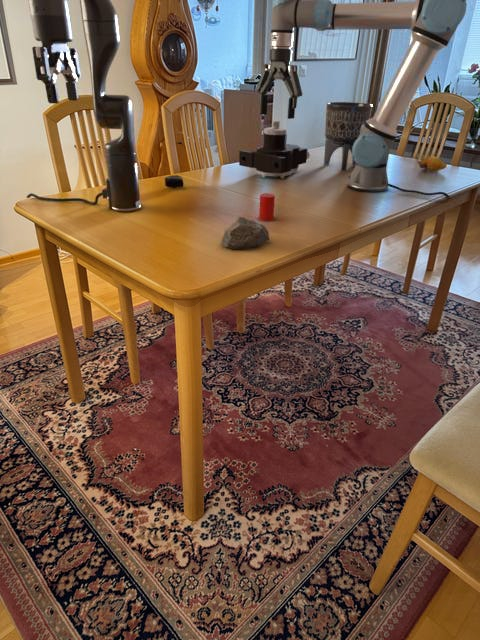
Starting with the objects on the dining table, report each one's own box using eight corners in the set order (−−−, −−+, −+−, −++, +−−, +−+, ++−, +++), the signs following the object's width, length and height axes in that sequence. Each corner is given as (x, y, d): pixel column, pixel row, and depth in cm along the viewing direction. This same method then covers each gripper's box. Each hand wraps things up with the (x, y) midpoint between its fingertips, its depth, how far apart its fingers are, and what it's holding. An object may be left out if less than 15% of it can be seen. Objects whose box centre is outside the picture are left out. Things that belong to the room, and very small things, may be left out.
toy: (420, 164, 201) (414, 157, 214) (422, 178, 204) (416, 170, 217) (447, 156, 198) (439, 149, 211) (449, 170, 201) (441, 162, 213)
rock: (255, 233, 128) (256, 211, 124) (276, 242, 122) (278, 219, 119) (217, 244, 120) (217, 220, 117) (239, 254, 115) (239, 230, 111)
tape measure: (165, 189, 168) (164, 179, 167) (165, 185, 174) (164, 175, 172) (183, 189, 169) (183, 179, 168) (183, 184, 175) (182, 174, 173)
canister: (265, 221, 138) (266, 198, 135) (256, 218, 142) (256, 194, 138) (276, 219, 141) (278, 195, 137) (267, 215, 144) (268, 192, 140)
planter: (313, 167, 208) (319, 103, 195) (331, 160, 222) (338, 101, 209) (353, 173, 199) (362, 107, 185) (369, 166, 213) (379, 104, 199)
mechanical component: (240, 120, 182) (283, 115, 202) (239, 174, 192) (280, 164, 212) (283, 126, 170) (325, 120, 190) (280, 183, 180) (320, 171, 200)
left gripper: (48, 11, 86) (63, 105, 94) (83, 17, 98) (94, 100, 107) (12, 11, 87) (30, 104, 95) (51, 17, 99) (64, 98, 108)
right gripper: (247, 47, 159) (245, 113, 170) (301, 48, 143) (295, 120, 154) (262, 48, 164) (260, 112, 174) (316, 49, 148) (310, 119, 159)
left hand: (64, 101), depth 101 cm, fingers open, 8 cm apart
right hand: (276, 116), depth 164 cm, fingers open, 13 cm apart
